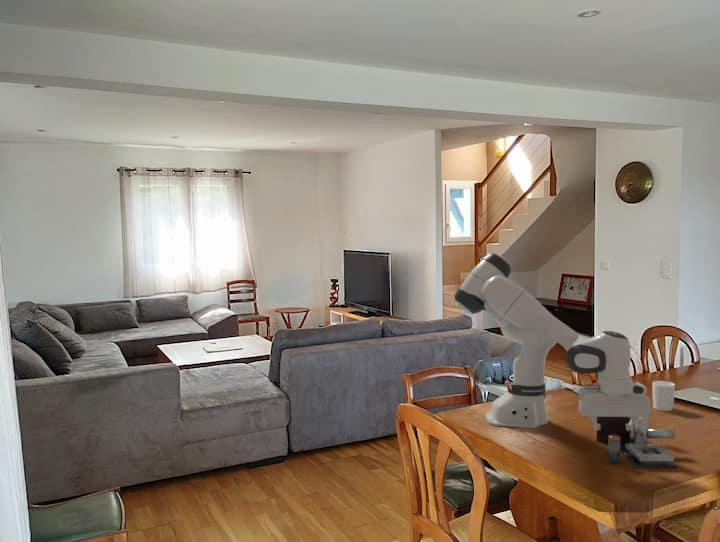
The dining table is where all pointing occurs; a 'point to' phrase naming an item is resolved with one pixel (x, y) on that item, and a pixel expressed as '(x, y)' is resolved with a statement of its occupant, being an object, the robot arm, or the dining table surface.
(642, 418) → the pipe elbow on plate
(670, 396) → the white cup
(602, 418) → the dark brown coffee grinder
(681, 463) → the dining table surface
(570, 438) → the dining table surface
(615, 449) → the pin
